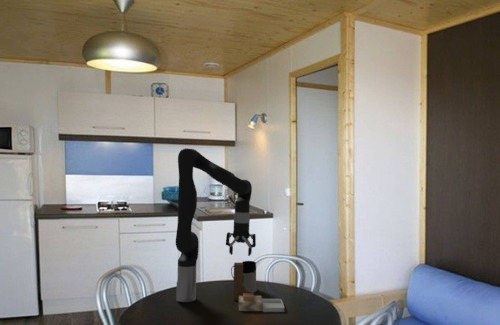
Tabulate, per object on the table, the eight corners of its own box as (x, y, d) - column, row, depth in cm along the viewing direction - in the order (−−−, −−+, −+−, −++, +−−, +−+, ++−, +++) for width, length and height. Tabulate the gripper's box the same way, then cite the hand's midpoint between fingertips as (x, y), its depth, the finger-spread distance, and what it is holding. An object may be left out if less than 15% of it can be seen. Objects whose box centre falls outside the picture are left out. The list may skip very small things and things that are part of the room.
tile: (243, 300, 180) (243, 296, 180) (243, 297, 185) (243, 292, 185) (253, 300, 180) (254, 296, 180) (253, 297, 185) (253, 293, 185)
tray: (262, 312, 176) (263, 307, 176) (261, 302, 188) (261, 298, 188) (284, 312, 177) (284, 307, 177) (281, 302, 189) (281, 298, 189)
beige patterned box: (238, 310, 177) (239, 302, 177) (238, 304, 186) (238, 295, 186) (262, 310, 178) (262, 302, 178) (261, 304, 187) (261, 295, 187)
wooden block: (251, 298, 195) (252, 262, 195) (251, 301, 191) (251, 264, 191) (233, 297, 195) (234, 262, 196) (233, 300, 191) (233, 264, 191)
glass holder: (258, 292, 204) (258, 264, 204) (232, 293, 201) (232, 265, 201) (254, 287, 213) (255, 260, 213) (229, 288, 210) (229, 261, 210)
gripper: (225, 221, 182) (224, 255, 182) (255, 223, 180) (254, 257, 180) (228, 219, 189) (227, 252, 189) (257, 221, 188) (255, 254, 187)
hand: (240, 255), depth 185 cm, fingers open, 8 cm apart
